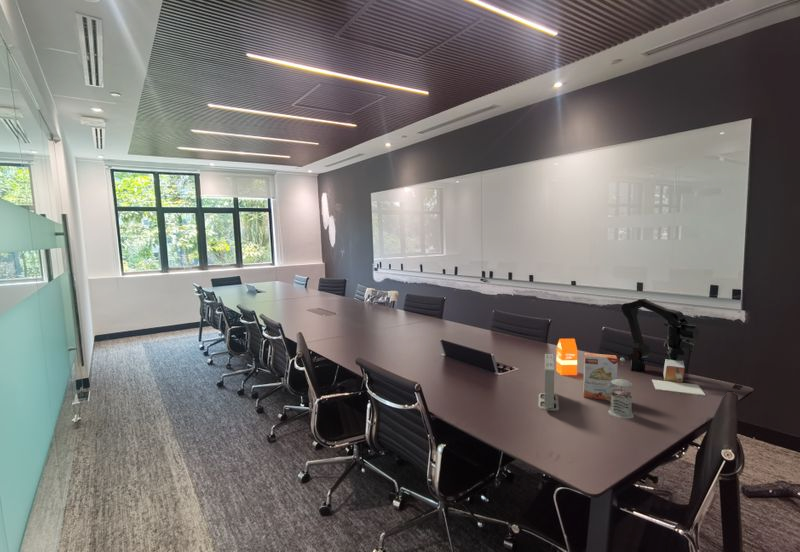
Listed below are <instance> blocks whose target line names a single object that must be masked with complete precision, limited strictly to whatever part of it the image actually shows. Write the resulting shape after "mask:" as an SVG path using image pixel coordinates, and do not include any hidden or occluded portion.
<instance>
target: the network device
mask: <svg viewBox="0 0 800 552" xmlns="http://www.w3.org/2000/svg"><path fill="white" fill-rule="evenodd" d="M554 362H555V361H554V354H553V353H545V354H544V392H541V393H539V394H538V404H537V406H538V408H539V409H540V410H545V411H559V409H560V407H559V397H558V395H557V394H555V363H554ZM542 396H543V398H542ZM541 403H544V406H541ZM554 406H555V407H554Z"/></svg>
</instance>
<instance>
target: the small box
mask: <svg viewBox="0 0 800 552" xmlns="http://www.w3.org/2000/svg"><path fill="white" fill-rule="evenodd" d="M664 360H665V361H664V366H663V381H669V382H678V383H683V379H684V374H685V369H686V368H685V363H684V362H685V361H684V360H678V359H677V360H671V359H667V358H665V359H664Z"/></svg>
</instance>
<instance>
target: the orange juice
mask: <svg viewBox="0 0 800 552" xmlns="http://www.w3.org/2000/svg"><path fill="white" fill-rule="evenodd" d="M555 370H556V372H557V373H558V374H560V375H561V376H577V375H578V347H577V343H576V339H575V338H559V340H558V342H557V345H556V369H555Z"/></svg>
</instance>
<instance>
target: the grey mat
mask: <svg viewBox="0 0 800 552" xmlns="http://www.w3.org/2000/svg"><path fill="white" fill-rule="evenodd" d="M651 382H652V384H653V386H654V388H655V390H656V391H661V390H662V391H661V392H670V393H671V392H672V393H679V394H688V395H695V396H702V397H705V396H706V394H705V392H704V391H703V390H702V388H701V387H700V385H698V384H694V383H685V382H682V383H680V382H673V381H665V380H658V379H651Z"/></svg>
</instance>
